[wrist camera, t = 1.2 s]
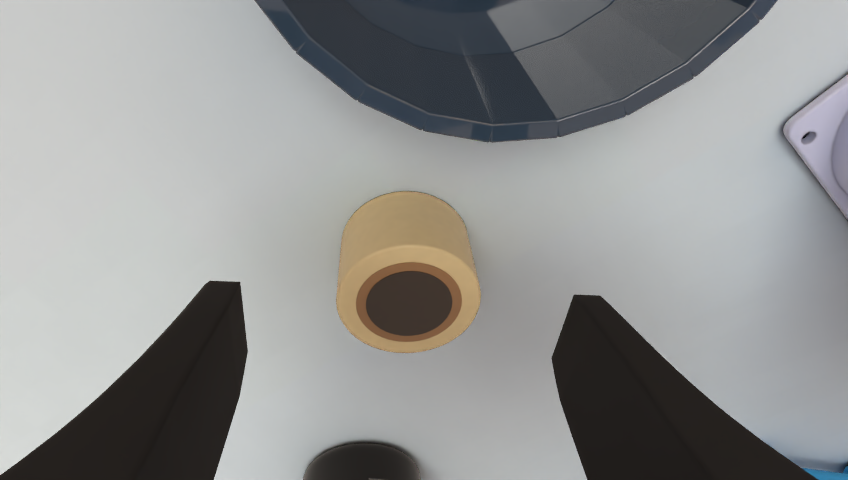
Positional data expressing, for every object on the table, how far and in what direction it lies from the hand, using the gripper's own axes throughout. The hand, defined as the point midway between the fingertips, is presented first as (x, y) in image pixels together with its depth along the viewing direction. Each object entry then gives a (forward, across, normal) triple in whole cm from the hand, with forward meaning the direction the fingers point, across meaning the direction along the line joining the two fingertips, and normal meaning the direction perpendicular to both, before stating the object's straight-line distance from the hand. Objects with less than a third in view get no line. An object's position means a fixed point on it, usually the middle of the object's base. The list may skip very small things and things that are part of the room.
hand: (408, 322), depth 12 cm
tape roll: (+10, -1, +5) cm, 11 cm away
